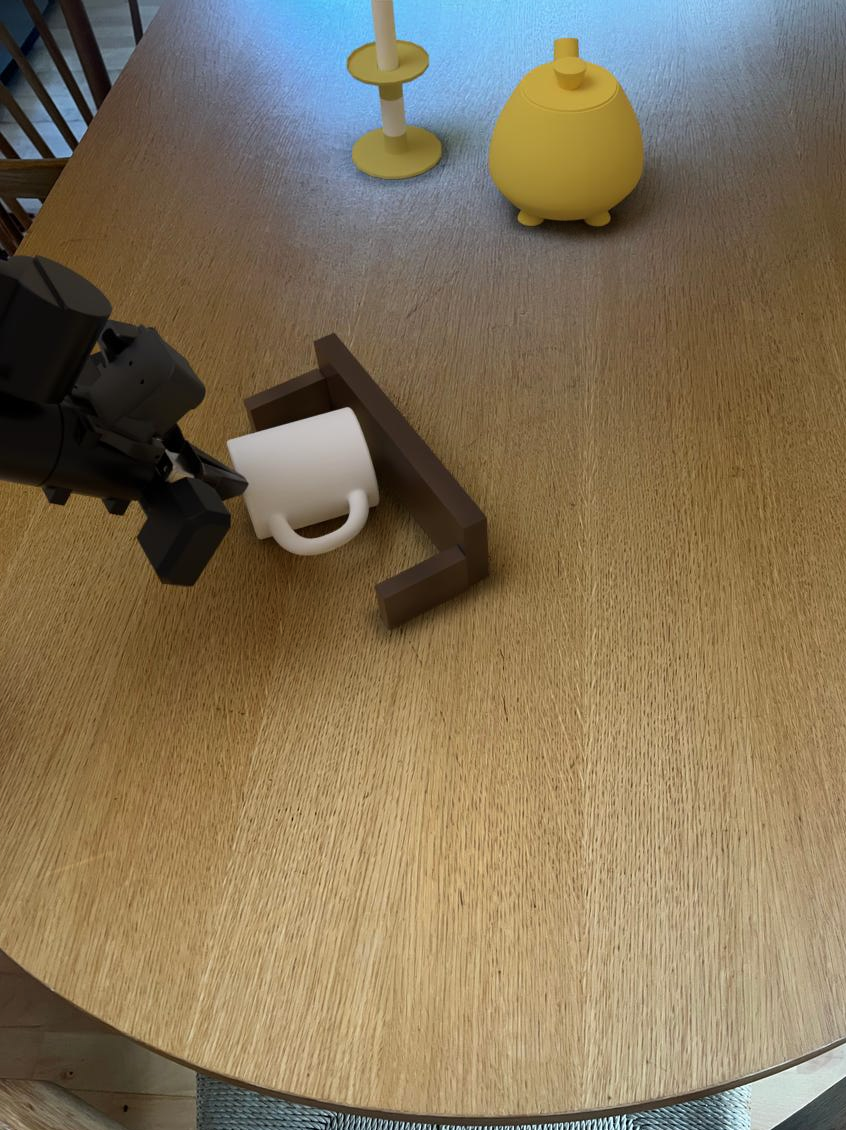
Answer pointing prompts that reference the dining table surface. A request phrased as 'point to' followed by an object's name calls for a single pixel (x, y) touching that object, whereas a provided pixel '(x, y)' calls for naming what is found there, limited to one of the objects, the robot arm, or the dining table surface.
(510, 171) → the teapot
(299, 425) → the mug
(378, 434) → the shelf
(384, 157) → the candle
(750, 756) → the dining table surface
